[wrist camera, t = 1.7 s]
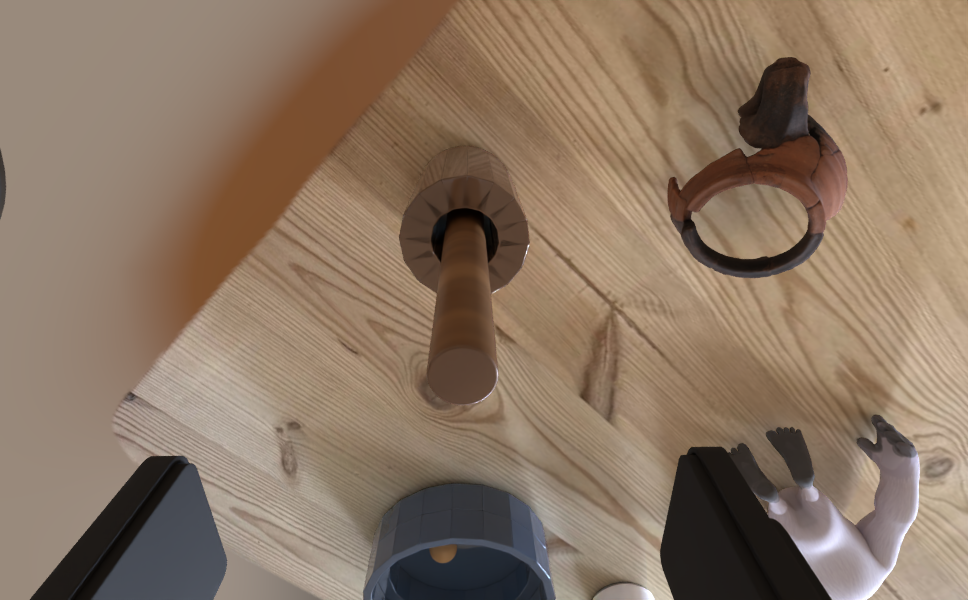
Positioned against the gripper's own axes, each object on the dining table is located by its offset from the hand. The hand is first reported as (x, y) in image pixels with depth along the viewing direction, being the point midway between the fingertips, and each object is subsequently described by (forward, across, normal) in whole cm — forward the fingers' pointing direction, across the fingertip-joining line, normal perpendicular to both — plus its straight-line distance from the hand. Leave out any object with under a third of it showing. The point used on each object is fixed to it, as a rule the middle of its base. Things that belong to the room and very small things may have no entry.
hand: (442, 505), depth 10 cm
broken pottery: (+25, -17, -2) cm, 31 cm away
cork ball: (+23, +3, +30) cm, 38 cm away
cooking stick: (+24, 0, 0) cm, 24 cm away
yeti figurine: (+26, -28, +29) cm, 48 cm away
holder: (+25, 0, 0) cm, 25 cm away
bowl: (+25, +1, +32) cm, 41 cm away
